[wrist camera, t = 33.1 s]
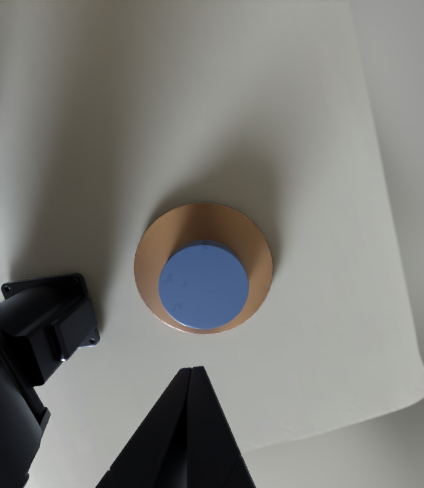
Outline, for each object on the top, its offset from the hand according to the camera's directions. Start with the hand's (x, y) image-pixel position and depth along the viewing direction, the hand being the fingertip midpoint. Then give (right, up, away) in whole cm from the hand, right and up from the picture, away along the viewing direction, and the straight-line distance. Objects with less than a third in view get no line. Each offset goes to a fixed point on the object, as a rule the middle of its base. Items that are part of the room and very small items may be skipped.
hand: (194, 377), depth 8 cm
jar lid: (0, +1, +9) cm, 9 cm away
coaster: (0, +2, +11) cm, 11 cm away
